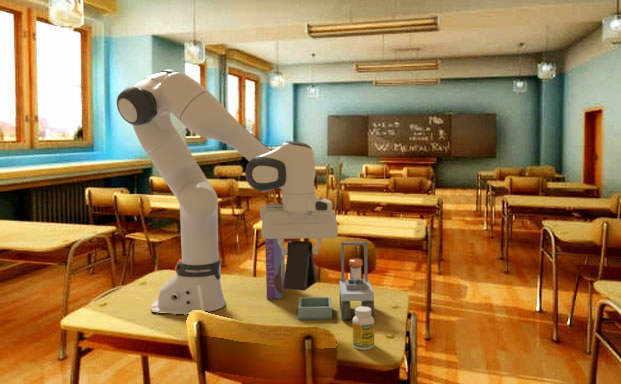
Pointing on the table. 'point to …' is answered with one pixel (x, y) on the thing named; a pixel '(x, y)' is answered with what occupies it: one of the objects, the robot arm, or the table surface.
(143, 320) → the table surface
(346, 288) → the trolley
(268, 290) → the cereal box
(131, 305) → the table surface
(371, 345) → the supplement bottle
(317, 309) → the bin
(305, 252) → the phone stand
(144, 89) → the robot arm
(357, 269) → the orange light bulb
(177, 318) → the table surface
